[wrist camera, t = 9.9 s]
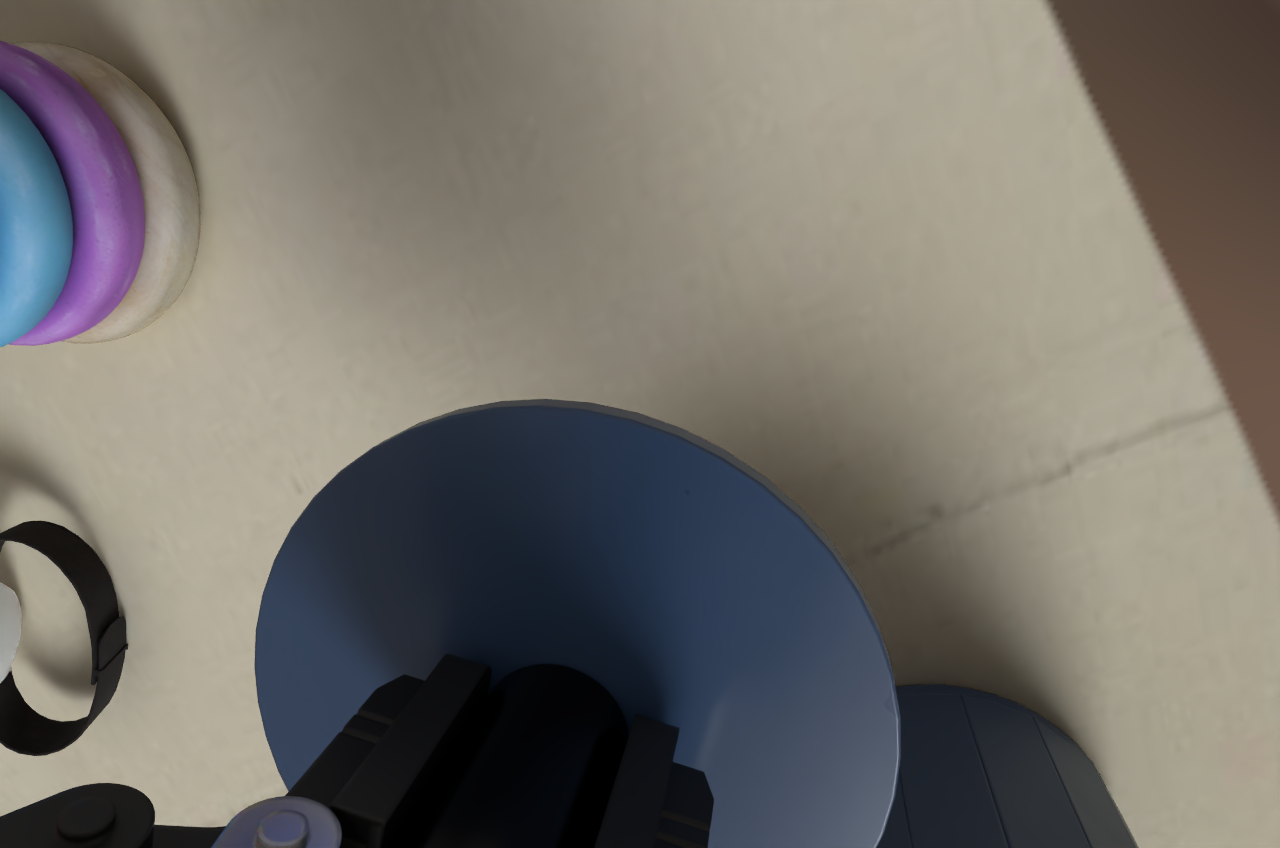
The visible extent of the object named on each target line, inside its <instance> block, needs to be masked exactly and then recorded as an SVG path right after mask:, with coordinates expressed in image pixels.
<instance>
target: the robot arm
mask: <svg viewBox="0 0 1280 848" xmlns="http://www.w3.org/2000/svg"><path fill="white" fill-rule="evenodd" d="M491 674H492V669H491V667H489V666H486V665H483V664H480V663H477V662H474V661H471V660H467V659H464V658H461V657H458V656H455V655H452V654H449V653H448V654H446V655H444V657H443V658H442V659H441V660H440V662H439V663H438V664H437V666H436V667H435V668H434V669H433V671H432V672H431V673H430V675H429V676H428V677H427V679H426V680H425V681H424V680H421V679H418V678H415V677H412V676H409V675H406V674H404V675H402V676H400V677H398V678H396V679H394V680H392V681H390V682H388V683H386V684H384V685H382V686H380V687H378V688H377V689H376V690H375V691H374V692H373V693H372V694H371V696H370V697H369V698H368V699H367V700H366V701H365V703H364V704H363V705H362V706H361V707H360V708H359V710H358V712H357V714H354V715H353V717H352V718H351V719H350V720H349V721H348V723H347V724H346V725H345V726H344V727H343V730H342V732H339V733H338V734H337V735H336V737H335V738H334V739H333V740H332V741H331V743H330V744H329V745H328V746H327V747H326V748H325V750H324V751H323V752H322V753H321V754H320V755H319V757H318V758H317V759H316V760H315V761H314V763H313V764H312V765H311V766H310V767H309V768H308V770H307V771H306V772H305V773H304V774H303V775H302V777H301V778H300V779H299V780H298V781H297V782H296V784H295V785H294V786H293V787H292V788H291V790H290V791H289V792H288V793H287V794H286V795H285V796H283V797H275V798H270V799H266V800H263V801H260V802H257V803H255V804H253V805H251V806H249V807H247V808H246V809H244V810H242V811H241V812H239V813H238V814H237V815H236V816H235V817H234V818H233V819H232V820H231V821H230V822H229V823H228V825H227V826H223V827H185V826H166V825H154V822H155V811H154V807H153V804H152V803H151V801H150V799H149V798H148V797H147V796H146V795H145V794H144V793H142V792H140V791H139V790H137V789H135V788H132V787H129V786H126V785H121V784H113V783H96V784H89V785H83V786H79V787H75V788H72V789H69V790H66V791H63V792H60V793H58V794H55V795H53V796H50V797H48V798H45V799H43V800H40V801H38V802H36V803H33V804H31V805H28V806H26V807H23V808H21V809H18V810H16V811H13V812H11V813H8V814H6V815H3V816H1V817H0V848H394V847H395V846H396V844H397V842H398V841H399V839H400V837H401V836H402V834H403V833H404V831H405V829H406V828H407V826H408V825H409V823H410V821H411V820H412V818H413V816H414V815H415V813H416V812H417V810H418V808H419V807H420V805H421V804H422V802H423V800H424V799H425V797H426V795H427V794H428V792H429V791H430V789H431V787H432V786H433V784H434V782H435V781H436V779H437V778H438V776H439V774H440V773H441V771H442V770H443V768H444V766H445V765H446V763H447V761H448V760H449V758H450V757H451V755H452V753H453V752H454V750H455V749H456V747H457V745H458V744H459V742H460V740H461V739H462V737H463V736H464V734H465V732H466V731H467V729H468V728H469V726H470V724H471V723H472V721H473V719H474V718H475V716H476V715H477V713H478V711H479V710H480V708H481V707H482V705H483V703H484V702H485V700H486V698H487V695H488V690H489V685H490V680H491ZM679 730H680V728H679V727H676V726H673V725H669V724H666V723H663V722H660V721H657V720H654V719H651V718H648V717H644V716H641V715H638V714H636V715H635V718H634V721H633V725H632V728H631V731H630V734H629V737H628V741H627V744H626V747H625V750H624V753H623V756H622V760H621V763H620V766H619V769H618V772H617V776H616V779H615V782H614V785H613V788H612V792H611V795H610V798H609V801H608V804H607V808H606V811H605V814H604V817H603V820H602V824H601V827H600V830H599V833H598V836H597V840H596V843H595V846H594V848H708V841H709V834H710V832H709V831H710V827H711V819H712V812H713V805H714V798H713V795H712V792H711V789H710V787H709V784H708V781H707V778H706V776H705V773H704V772H703V771H700V770H697V769H694V768H691V767H688V766H685V765H681V764H678V763H675V762H673V758H674V753H675V749H676V744H677V740H678V735H679Z"/></svg>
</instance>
